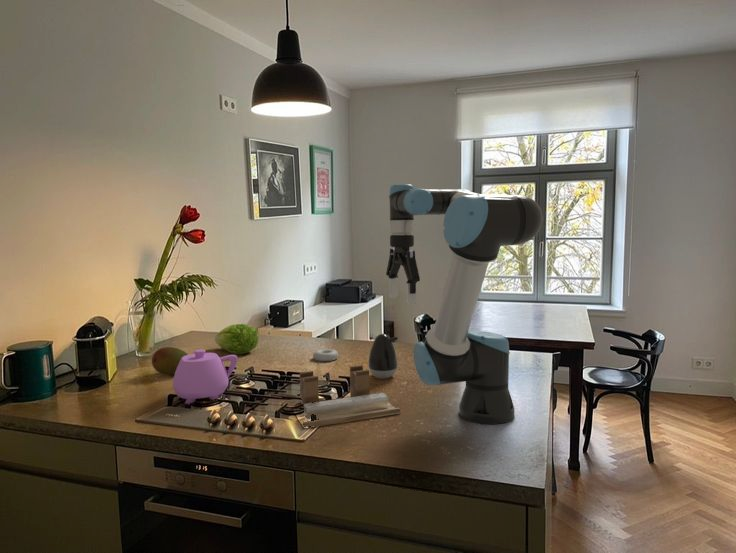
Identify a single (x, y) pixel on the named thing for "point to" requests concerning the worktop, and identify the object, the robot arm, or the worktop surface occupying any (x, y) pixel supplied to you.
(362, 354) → the worktop surface
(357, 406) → the rail
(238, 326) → the lettuce
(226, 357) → the teapot
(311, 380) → the cradle posts
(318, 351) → the donut
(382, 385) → the worktop surface
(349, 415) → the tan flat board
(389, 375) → the pump dispenser
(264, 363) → the worktop surface
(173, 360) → the fruit
